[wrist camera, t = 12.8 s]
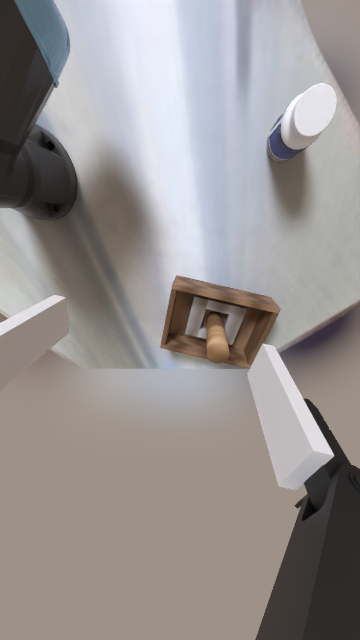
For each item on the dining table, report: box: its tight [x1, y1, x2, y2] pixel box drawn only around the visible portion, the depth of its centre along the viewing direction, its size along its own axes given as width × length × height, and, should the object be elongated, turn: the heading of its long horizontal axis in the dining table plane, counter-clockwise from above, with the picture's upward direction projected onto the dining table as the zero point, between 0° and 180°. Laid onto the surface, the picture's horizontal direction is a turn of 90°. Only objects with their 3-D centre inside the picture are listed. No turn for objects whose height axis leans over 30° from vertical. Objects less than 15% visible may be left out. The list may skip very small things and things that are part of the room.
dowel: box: [206, 311, 230, 363], centre depth 41 cm, size 4×4×14 cm
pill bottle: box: [267, 84, 336, 162], centre depth 28 cm, size 6×6×10 cm
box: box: [160, 276, 281, 369], centre depth 45 cm, size 22×16×6 cm
